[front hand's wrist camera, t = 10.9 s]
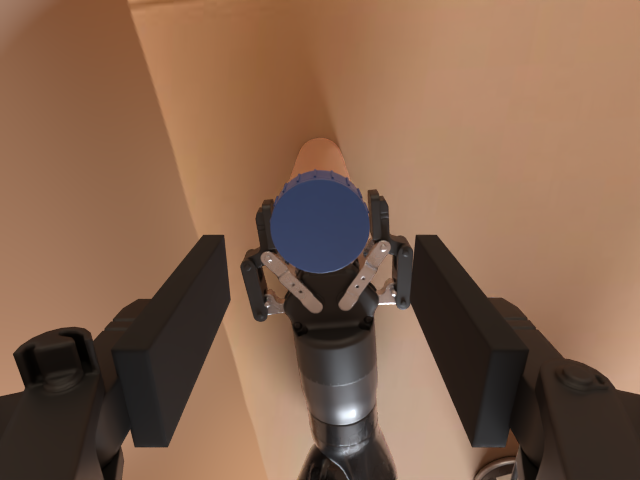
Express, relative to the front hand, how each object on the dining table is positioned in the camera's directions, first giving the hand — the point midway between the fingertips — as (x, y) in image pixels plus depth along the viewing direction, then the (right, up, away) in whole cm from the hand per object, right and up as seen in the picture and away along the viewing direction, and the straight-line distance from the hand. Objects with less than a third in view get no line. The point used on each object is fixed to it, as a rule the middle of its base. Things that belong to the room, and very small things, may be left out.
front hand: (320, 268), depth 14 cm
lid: (0, +2, +4) cm, 5 cm away
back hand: (0, +5, +16) cm, 17 cm away
